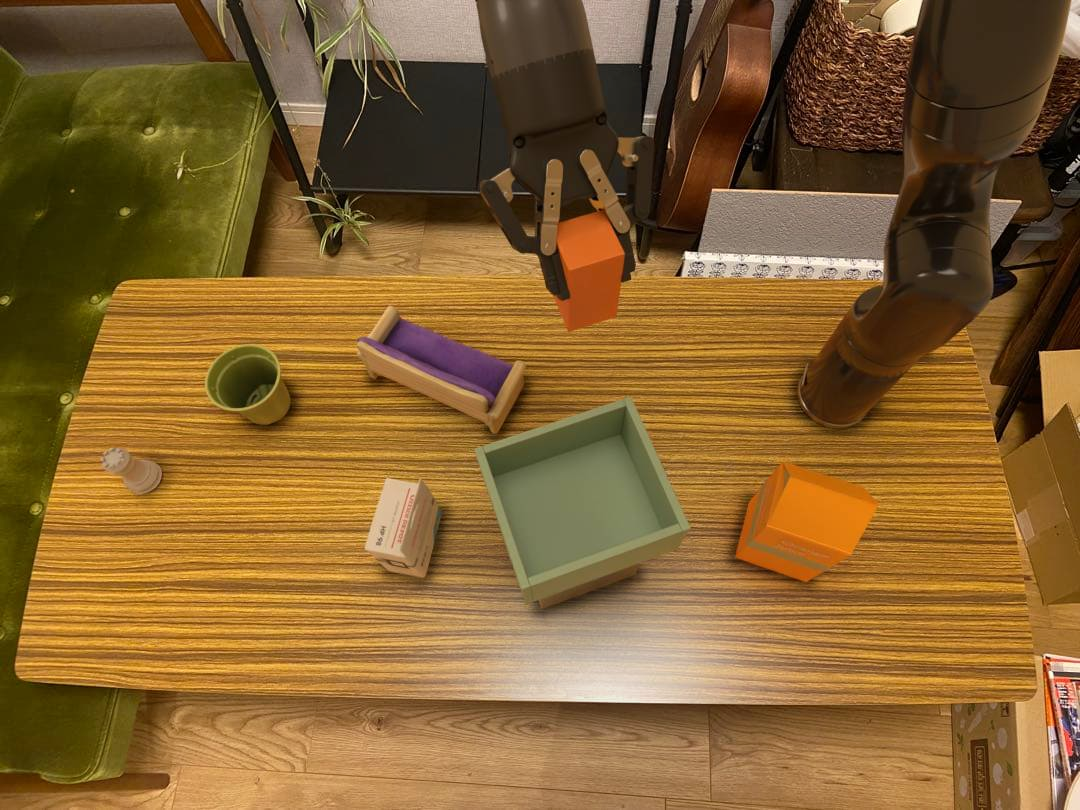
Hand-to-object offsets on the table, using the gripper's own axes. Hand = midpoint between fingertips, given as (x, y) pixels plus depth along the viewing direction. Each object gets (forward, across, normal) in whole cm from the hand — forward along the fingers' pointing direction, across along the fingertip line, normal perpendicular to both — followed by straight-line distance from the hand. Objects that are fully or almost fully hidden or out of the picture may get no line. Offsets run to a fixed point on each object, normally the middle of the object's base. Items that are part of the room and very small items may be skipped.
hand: (594, 288), depth 56 cm
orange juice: (+41, +19, +15) cm, 47 cm away
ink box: (+30, -23, +25) cm, 46 cm away
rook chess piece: (+16, -54, +39) cm, 69 cm away
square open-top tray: (+23, -5, +7) cm, 24 cm away
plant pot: (+12, -38, +43) cm, 58 cm away
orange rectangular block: (+2, 0, +5) cm, 5 cm away
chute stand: (+36, -5, +20) cm, 41 cm away
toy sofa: (+16, -13, +40) cm, 45 cm away
